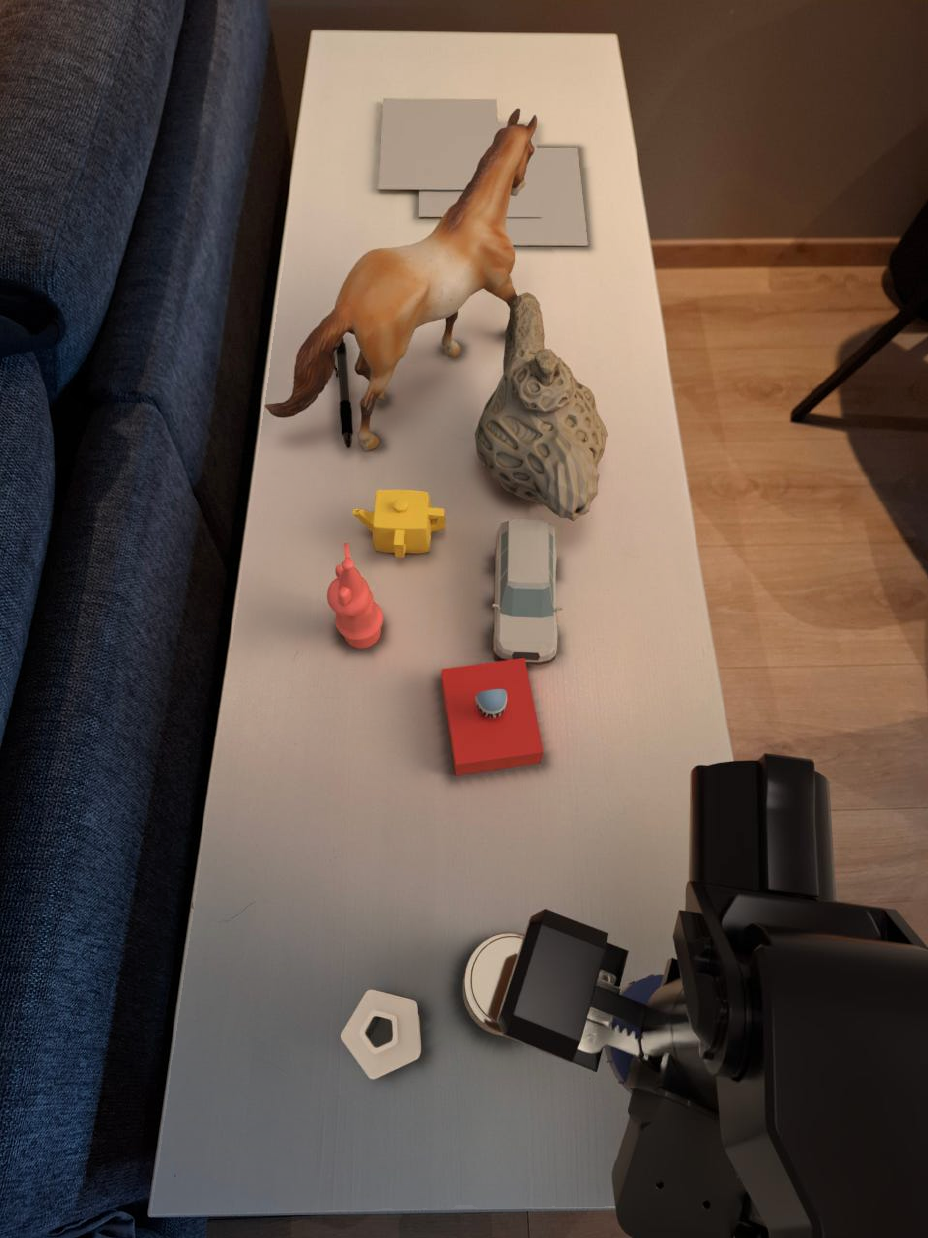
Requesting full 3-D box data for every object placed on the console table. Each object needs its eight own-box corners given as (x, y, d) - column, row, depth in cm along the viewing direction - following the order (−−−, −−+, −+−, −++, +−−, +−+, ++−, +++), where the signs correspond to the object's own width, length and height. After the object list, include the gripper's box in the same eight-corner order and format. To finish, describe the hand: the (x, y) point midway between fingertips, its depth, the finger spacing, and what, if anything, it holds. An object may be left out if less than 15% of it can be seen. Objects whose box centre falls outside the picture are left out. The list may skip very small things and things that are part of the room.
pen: (330, 341, 88) (328, 333, 87) (346, 340, 88) (345, 332, 87) (337, 451, 82) (335, 443, 81) (354, 449, 82) (353, 442, 81)
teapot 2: (623, 549, 77) (660, 444, 64) (499, 571, 76) (510, 468, 63) (563, 372, 87) (584, 248, 73) (451, 389, 86) (451, 266, 72)
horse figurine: (508, 289, 92) (522, 99, 73) (559, 330, 89) (588, 143, 71) (274, 445, 82) (224, 271, 64) (325, 495, 80) (287, 328, 61)
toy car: (489, 669, 72) (491, 644, 67) (492, 539, 78) (495, 508, 73) (557, 672, 72) (565, 647, 67) (556, 541, 78) (562, 510, 73)
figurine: (334, 613, 74) (315, 539, 63) (382, 606, 74) (370, 532, 64) (339, 656, 72) (320, 587, 62) (388, 649, 73) (377, 579, 62)
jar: (548, 1036, 60) (562, 1034, 52) (461, 1035, 59) (463, 1033, 52) (545, 944, 62) (558, 930, 55) (462, 943, 62) (464, 928, 54)
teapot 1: (353, 568, 76) (347, 537, 71) (359, 514, 79) (353, 480, 74) (444, 571, 76) (443, 540, 71) (446, 516, 79) (446, 483, 74)
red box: (540, 763, 68) (548, 737, 63) (455, 775, 68) (456, 750, 62) (521, 671, 72) (528, 639, 66) (441, 682, 71) (440, 651, 66)
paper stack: (572, 104, 106) (573, 98, 105) (587, 245, 95) (588, 240, 94) (383, 103, 106) (383, 97, 105) (376, 244, 94) (375, 239, 94)
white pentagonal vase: (354, 1065, 59) (325, 1069, 45) (371, 997, 60) (349, 981, 47) (419, 1082, 58) (409, 1092, 45) (434, 1013, 60) (430, 1002, 47)
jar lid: (648, 950, 51) (655, 946, 49) (745, 1036, 49) (756, 1035, 47) (578, 1045, 48) (582, 1045, 47) (677, 1139, 46) (685, 1142, 45)
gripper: (459, 1160, 33) (456, 1129, 47) (952, 1374, 30) (794, 1274, 44) (547, 882, 38) (521, 928, 52) (979, 1046, 35) (829, 1048, 49)
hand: (658, 1041), depth 49 cm, fingers closed on jar lid, 6 cm apart
